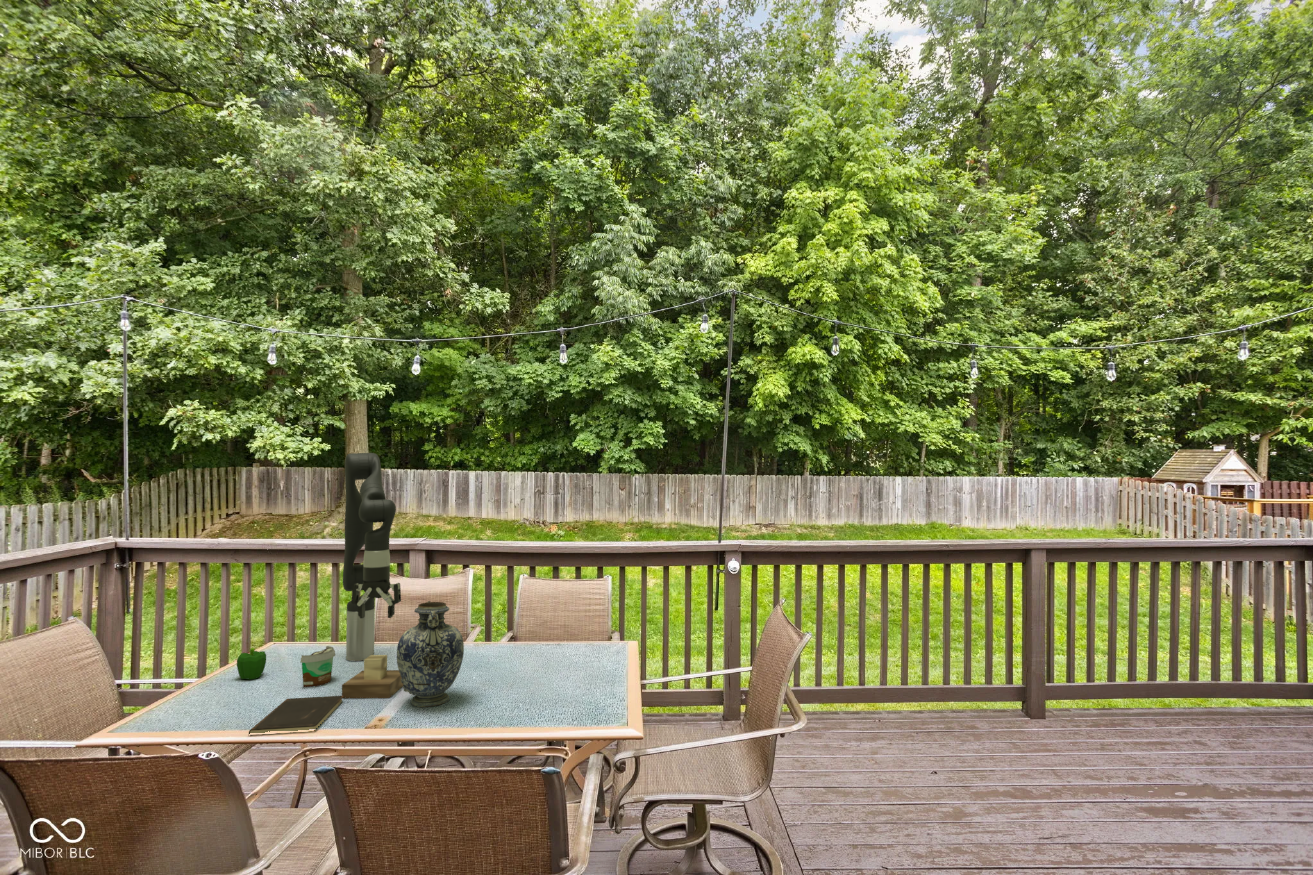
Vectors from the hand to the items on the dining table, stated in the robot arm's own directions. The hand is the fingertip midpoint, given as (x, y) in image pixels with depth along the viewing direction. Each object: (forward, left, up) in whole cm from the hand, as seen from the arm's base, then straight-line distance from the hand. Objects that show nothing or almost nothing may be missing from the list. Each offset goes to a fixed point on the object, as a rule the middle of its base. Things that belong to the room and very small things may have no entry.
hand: (376, 617), depth 206 cm
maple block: (0, 0, -18) cm, 18 cm away
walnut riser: (0, 0, -22) cm, 22 cm away
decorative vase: (+10, +20, -22) cm, 32 cm away
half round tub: (-8, -20, -22) cm, 31 cm away
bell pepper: (-14, -46, -22) cm, 53 cm away
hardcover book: (+22, -12, -23) cm, 34 cm away
